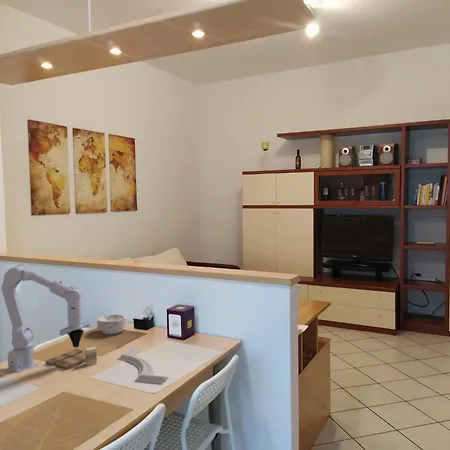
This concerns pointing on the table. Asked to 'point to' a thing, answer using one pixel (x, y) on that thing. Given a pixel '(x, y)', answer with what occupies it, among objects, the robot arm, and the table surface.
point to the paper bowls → (111, 323)
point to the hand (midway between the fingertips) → (75, 346)
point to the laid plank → (62, 357)
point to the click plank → (72, 361)
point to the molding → (142, 367)
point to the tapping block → (91, 356)
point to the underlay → (64, 369)
